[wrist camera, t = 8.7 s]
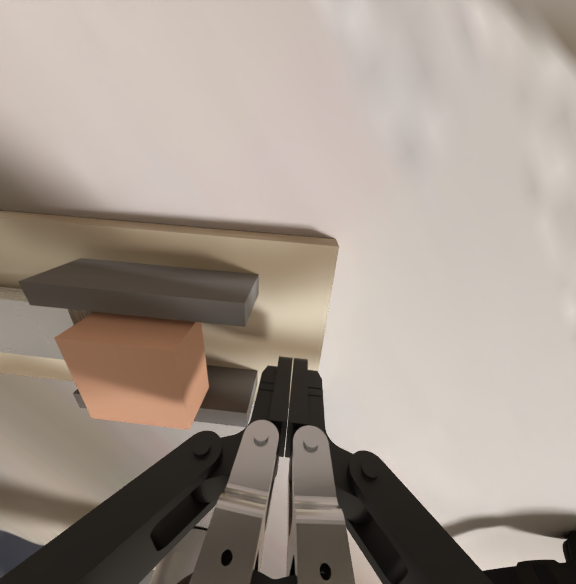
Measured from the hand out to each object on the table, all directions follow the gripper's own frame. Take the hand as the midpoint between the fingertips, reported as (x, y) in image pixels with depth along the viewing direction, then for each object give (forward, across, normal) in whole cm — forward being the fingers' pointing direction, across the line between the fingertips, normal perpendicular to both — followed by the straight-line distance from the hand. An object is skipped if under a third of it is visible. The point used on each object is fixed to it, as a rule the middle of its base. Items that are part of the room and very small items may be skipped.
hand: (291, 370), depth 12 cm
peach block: (0, +7, 0) cm, 7 cm away
